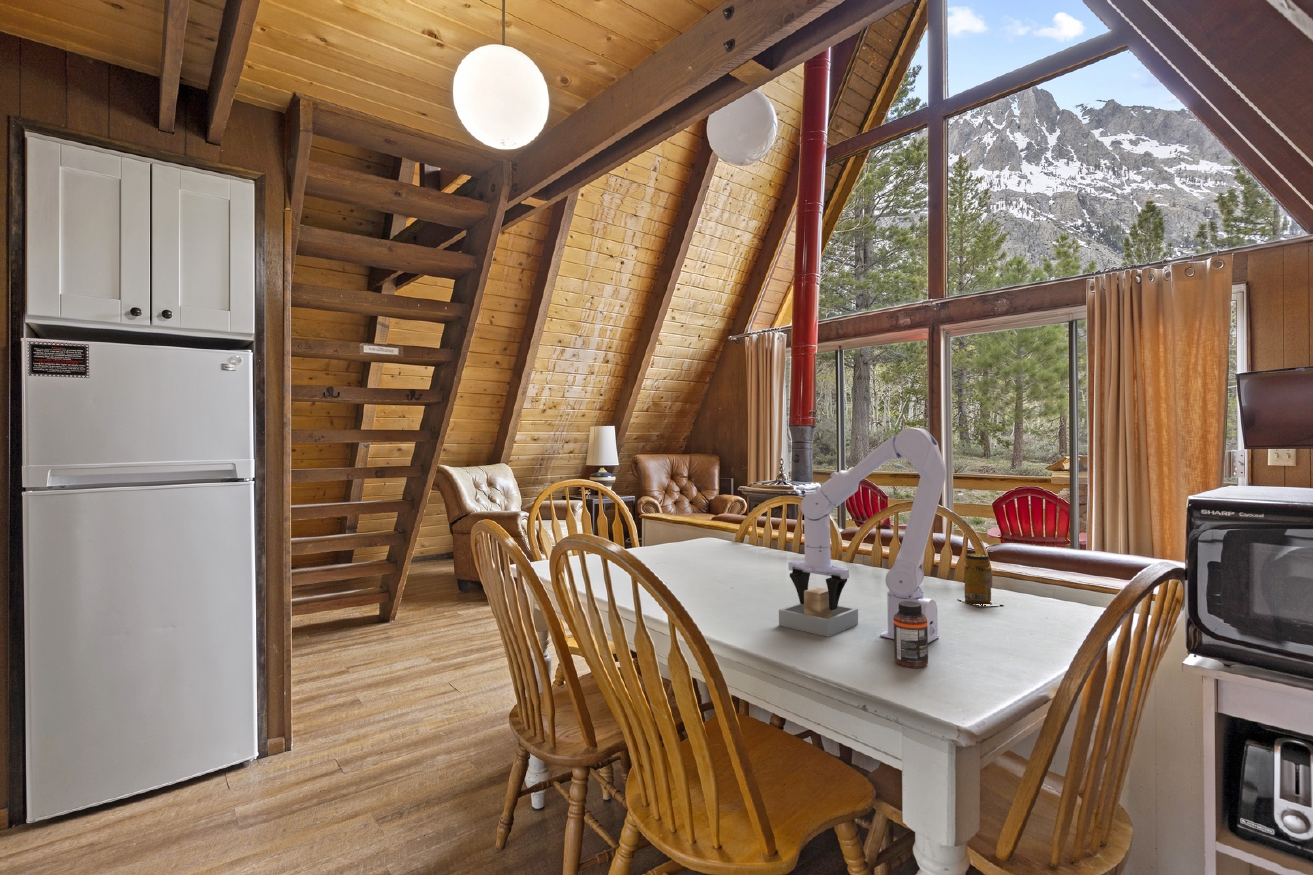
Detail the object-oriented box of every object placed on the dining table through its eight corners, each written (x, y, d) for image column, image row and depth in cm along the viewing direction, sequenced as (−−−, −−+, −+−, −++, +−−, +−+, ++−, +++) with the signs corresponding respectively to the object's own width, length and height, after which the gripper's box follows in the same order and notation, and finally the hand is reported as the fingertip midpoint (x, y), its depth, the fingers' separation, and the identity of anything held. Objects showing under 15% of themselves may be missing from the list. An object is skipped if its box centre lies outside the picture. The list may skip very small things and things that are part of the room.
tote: (858, 624, 148) (857, 608, 148) (828, 636, 140) (828, 620, 140) (809, 614, 157) (809, 599, 157) (778, 625, 149) (778, 609, 149)
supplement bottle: (900, 655, 127) (899, 597, 127) (932, 662, 123) (931, 602, 123) (889, 664, 123) (888, 603, 122) (922, 671, 119) (921, 608, 119)
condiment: (980, 598, 171) (979, 551, 171) (1004, 606, 162) (1004, 557, 162) (955, 600, 169) (955, 553, 169) (979, 608, 161) (978, 559, 161)
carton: (832, 620, 149) (831, 589, 149) (820, 625, 145) (819, 593, 145) (816, 617, 152) (816, 587, 152) (804, 621, 148) (804, 590, 148)
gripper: (780, 544, 151) (781, 603, 151) (836, 552, 140) (837, 615, 141) (797, 540, 156) (798, 598, 156) (853, 547, 145) (854, 609, 145)
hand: (818, 606), depth 149 cm, fingers open, 7 cm apart
